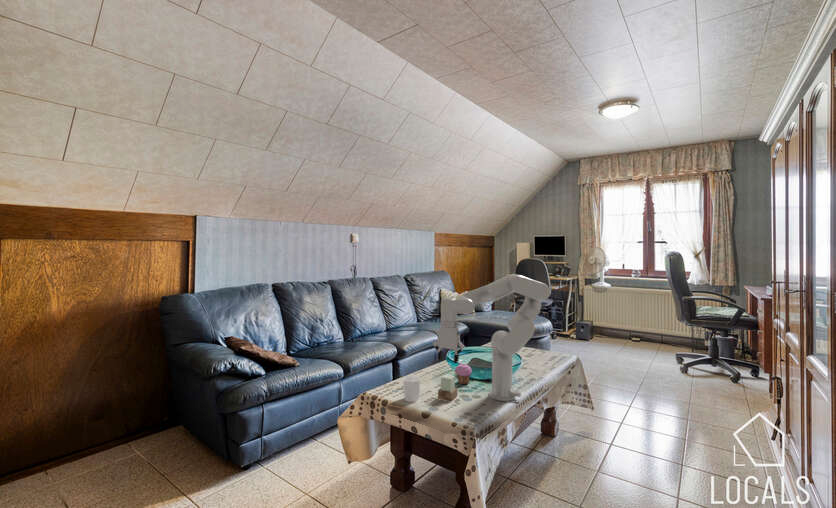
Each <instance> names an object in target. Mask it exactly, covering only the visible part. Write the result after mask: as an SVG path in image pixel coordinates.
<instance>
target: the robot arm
mask: <svg viewBox="0 0 836 508" xmlns="http://www.w3.org/2000/svg"><path fill="white" fill-rule="evenodd" d="M513 293H516V294H519V295H521V296H524V302H523V304H522V305H521V306H520V307H519V309H517V311H516V312H515V313H514V314H513V315H512V316H511V317H510V318H509V320H508V322H507V328H508V330H509V331H505V330H497V331H495V332H494V333H493V335H492V336H491V339H490V340H491V342H490V343H491V344H490V345H491V356H492V357H491V358H492V359H491V360H492V361H491V362H492V363H491V364H492V365H491V390H490V391H488V393H487V394H488V397H489V398H491V399H492V400H494V401H498V402H499V401H500V402H510V401H513V400H515V399H516V397H519V398H521V397H522V393H521V392H520V390H515V387H514V386H513V363H514V362H513V356H515V355H516V354H518V353H519V351H521V349H523V347H524V346H525V345H526V344H527V343H528V341H530V340H531V338H532V337H533V336H534V333H535V331H536V327H535V323H534V320H535V319H536V318H537V317H538V315H539V314H540V312H541V310H542V302H543V301H546V300H548V299H549V297H550V295H551V290H550V287H549V285H548V284H546V283H544V282H541V281H538V280H534V279H531V278H529V277H526V276H524V275H521V274H517V273H516V274H515V273H511V274H508V275H506V276H505V275H504V277H501V278H499V279H497V280H495V281H493V282H491V283H488V284H486V285H483V286H480V287H478V288H475V289H472V290H470V291H466V292H465V293H463V294H461V295H459V296H457V297H456V298H455V297H443V298H442V299H441V302H440V326H439V328H438V332H437V333H438V334H437V339H435V341H433V342H432V346H433V347H434V348H435V350H436V351H437V358H438V362H440V361H443V360H444V358H443V357H444V355H443V354H444V353H443V349H448V350H453V353H454V354H453V364H457V363H458V362H459V357H460V356H459V355H460V354H461V352H463V350H464V349H465V348H466V346H465V345H464V343H462V342H461V335H460V329H459V326H460V322H458V314H461V315H469V314H472V313H473V312H474V310H475V306H476V305H479V304H483V303H492V302H496V301H498V300H500V299H502V298H504V297H507V296H508V295H511V294H513Z"/></svg>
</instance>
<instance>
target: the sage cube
mask: <svg viewBox="0 0 836 508" xmlns="http://www.w3.org/2000/svg"><path fill="white" fill-rule="evenodd" d="M455 386H456V375H453V374H451V375H450V374H444V375H442V376H441V377H440V388H441V390H444V391H449V392H451V391H452V390H454V389H455V388H456V387H455Z"/></svg>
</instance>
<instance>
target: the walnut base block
mask: <svg viewBox="0 0 836 508" xmlns="http://www.w3.org/2000/svg"><path fill="white" fill-rule="evenodd" d="M457 396H458V388H457V387H455V389H454V390H452V391H451V392H449V391H444V390H441V387H440V388H439V389H437V398H438V399H442V400H441V401H443V400H447V401H446V402H448V401H453V400H454V399H455V398H456V397H457ZM438 399H437V400H438Z"/></svg>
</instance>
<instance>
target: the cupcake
mask: <svg viewBox="0 0 836 508" xmlns="http://www.w3.org/2000/svg"><path fill="white" fill-rule="evenodd" d="M472 372H473V370H472V368H471V366H470V365H469V364H464V363H463V364H462V363H461V364H458V365H457V366H455V369H454V373H455V374H456V378H457V382H458V384H460V385H468V384H469V382H470V376H471V375H472Z"/></svg>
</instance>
